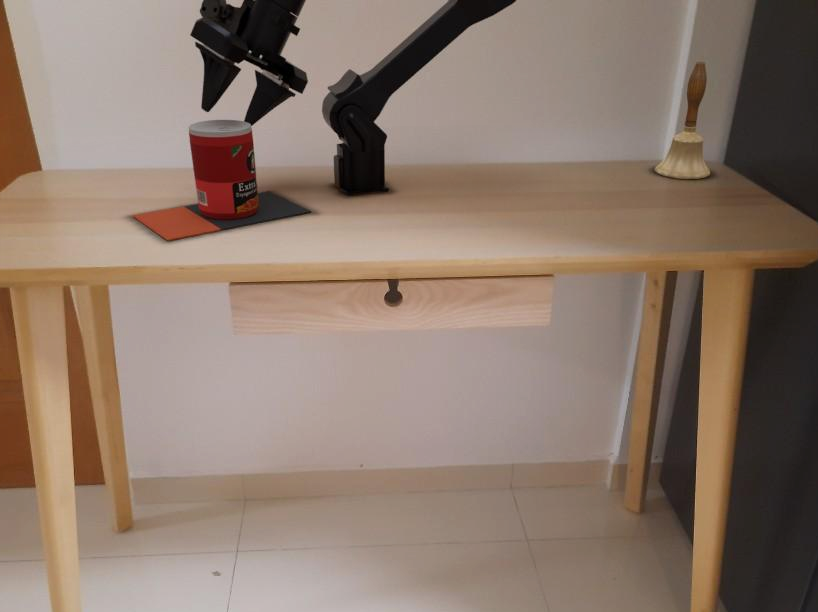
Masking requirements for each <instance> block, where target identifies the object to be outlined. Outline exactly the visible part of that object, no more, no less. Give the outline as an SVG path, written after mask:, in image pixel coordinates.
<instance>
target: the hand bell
mask: <svg viewBox="0 0 818 612" xmlns="http://www.w3.org/2000/svg"><path fill="white" fill-rule="evenodd" d="M706 69H707V68H706V62H704V61H696V62H695V64H694V68H693V69H692V71H691V73H690V76H689V79H688V82H687V89H686V100H687V101H686V102H687V109H686V110H687V111H686V116H685V121H684V127H683V131H682V132H680V133H677V134H676V135H674V136H673V137H672V140H671V144H670V147H669V149H668V152H667V154H666V156H665V157H664V159H663V160H662V161H661V162H659V163H658V164H657V165H656V166H655V167H654V172H655V173H656V174H658V175H660V176H663V177H667V178H671V179H678V180H699V179H700V180H701V179H705V178H708V177H710V175H711V172H710V169H709V167H708V166H707V164H706V163H705V160H704V138H703V137H702V136H701V135H699V134H698V133H697V120H698V114H699V108H700V105H701V103H702V101H703V98H704V95H705V93H706V88H707V84H708V83H707V79H708V77H707V76H708V75H707V70H706Z"/></svg>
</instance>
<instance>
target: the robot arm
mask: <svg viewBox="0 0 818 612" xmlns="http://www.w3.org/2000/svg"><path fill="white" fill-rule="evenodd" d="M306 1H307V0H243V1H242V2H241V3H242V4H241V5H240V7H238V6H233V5H231V4H230V3H227V0H202V2H201V6H200V9H199V13H200V15H201V17H200V18H198V19H196V20H195V22H194V25H193V27H192V29H191V31H190V34H189V35H190V36H191V37H192V38H193V39H195V40H196V41H194V45H195V47H196V48H197V49H198V50H199V52H200V55H201V58H202V61H203V81H202V93H201V105H200V108H201V110H203V111H204V112H206V113H210V112H211V110H213V108H214V107H215V106H216V105H217V103H218V102H219V101H220V100H221V98H222V96H223V95H224V94H225V93H226V91H227V90H228V88H229V87H230V86H231V85H232V83H233V82H234V81H235V79H236V78H237V77H238V75H240V72H241V71H242V68H240V67H239V66H237V65H236V64H238V65H239V64H240V63H242V62H244V61H245V62H247V63H250V64H251V65H253V66H255V67H257V68H259V69H260V70H261V71H262V72H261V71H259V70H257V69H255V70H254V75H255V82H256V86H255V89H254V92H253V94H252V97H251V100H250V102H249V105H248V107H247V110H246V113H245V117H244V122H247V123H249V124H251V127H253V126H254V125H255V124H256V123H258V122H259V121H260V120H261V119H263V118H264V117H265V116H267V115H268V114H269V113H270V112H271V111H273V110H274V109H275V108H277V107H278V106H281V104H283V103H284V102H286V101H287V100H289V99H290V98H291V97H292V98H295V97H296V96H297V94H296V93H299V94H301V95H303V94H304V91H305V89H306V87H307V85H308V83H309V80H308V75H307V72H306V71H304V70H303V69H301V68H300V67H298V66H296V65H295V64H293V63H292V62H290V61H288V60H287V58H286V57H284V56H283V55H282V53H283V51H284V49H285V47H286V45H287V43H288V39H289V38H290V36H291V34H292V35H294V36H295V37H298V35H299V33H300V30H301V28H300V27H299V26H297V25H296V23H297V21H298V19H299V16H300V14H301V12H302V10H303V7H304V5H305V3H306ZM516 2H517V0H447V2H445V4H443V5H442V6H441V7H440V8H439V9H438V10H436V11H435V12H434V13H433V14H432V15H431V16H430V17H428V18H427V19H426V20H425V21H424V22H423V23H422V24H421V25H420V26H419V27H417V28H416V29H415V30H414V31H413V32H411V34H409V35H408V36H407V37H406V38H405V39H404V40H403V41H402V42H400V43H399V44H398V45H397V46H396V47H395V48H394V49H392V50H391V51H390V52H389V53H388V54H387V55H386V56H384V58H383V59H381V60H380V61H379V62H378V63H376V64H375V66H373V67H372V68H371V69H370V70H367V71H365V72H364V73H361V74H359V73H357V72H356V71H354V70H352V69H351V68H348V70H347V71H346V72H344V74H343V75H342V76H341V78H340V79H339V80H338V81H337V82H336V83H334V84H332V85H328V86H327V90H328V91H329V92H328V93H327V94H326V95H325V97H324V98H323V100H322V104H321V105H322V107H321V112H322V114H321V115H322V118H323V120H324V122H325V123H326V124H327V125H328V127H329V128H330V129H331V130H332V131H333V132H334V133H335V134H336V135H337V137H338V139H339V140H340V141H341V143H336V154H335V155H334V156H333V174H334V175H333V178H334V179H333V180H334V186H336V187H337V188H338V189H339V190H340V191H342V192H343V193H344V194H345V195H348V196H351V195H362V194H370V193H381V192H388V191H390V187H389V186H388V185H387V184H386V173H385V172H386V163H385V162H386V161H385V160H386V159H385V158H386V156H385V155H386V154H385V153H386V152H385V151H386V150H385V147H386V143H387V139H388V134H387V133H386V132H385V131H384V130H383V129H382V128H381V127H380V126H379V125H378V124H376V120H377V119H378V118H379V116H380V115H381V114H382V112H383V110H384V108H385V107H386V104H387V103H388V101H389V99H390V98H391V97H392V96H393V94H394V93H396V92H397V91H398V90H399V89H400V88H401V87H402V86H404V85H405V84H406V83H407V82H408V81H409V80H411V79H412V78H413V77H414V76H415V75H416V74H417V73H418V72H419V71H420V70H422V69H423V68H424V67H426V66H427V65H428V64H429V63H430V62H431V61H432V60H434V58H435V57H437V56H438V55H439V54H440V53H441V52H443V50H445V49H446V48H447V47H448V46H449V45H450V44H452V43H453V42H454V41H455V40H456V39H457V38H458V37H459V36H461V35H462V34H463V33H464V32H465V31H467V29H469V28H470V27H471V26H473V25H476V24H478V23H480V22H482V21H484V20H486V19H488V18H491V17H493V16H495V15H497V14H499V13H500V12H502V11H503V10H505V9H507V8H508V7H510V6H512V5H513V4H515V3H516ZM290 89H291V90H290ZM293 91H295V92H296V93H295V92H293Z"/></svg>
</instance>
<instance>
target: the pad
mask: <svg viewBox="0 0 818 612" xmlns="http://www.w3.org/2000/svg"><path fill="white" fill-rule="evenodd" d="M184 206H185V205H184ZM184 206H178V207H172V208H167V209H161V210H156V211H149V212H143V213H138V214H133V215H132V217H133V218H134V219H135V220H137V221H138V222H140V224H142V225H144V226H145V227H147V228H148V229H150V230H151V231H152V232H153V233H155V234H157V235H158V236H159V237H161V238H162V239H164V240H165V241H166V242H171V241H175V240H180V239H185V238H186V239H187V238H191V237H196V236H201V235H205V234H210V233H211V234H212V233H215V232H220V231H222V230H221V229H220V228H218V227H217V226H215V225H213V224H212V223H210V222H208V221H207V220H205V219H203V218H202V217H200V216H198V215H197V214H195V213H194V212H192V211H190V210H189V209H187V208H185V207H184Z"/></svg>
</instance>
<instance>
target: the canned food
mask: <svg viewBox="0 0 818 612" xmlns="http://www.w3.org/2000/svg"><path fill="white" fill-rule="evenodd" d="M188 136H189V146H190V154H191V161H192V167H193V175H194V182H195V191H196V197H197V204H198V206H199V209H200V211H201V213H202V215H204V216H206V217H208V218H212V219H220V220H231V219H240V218H245V217H249V216H252V215H253V214H255V213H256V212H257V210H258V205H259V202H258V193H259V191H258V180H257V169H256V157H255V156H256V155H255V145H254V135H253V128H252V126H251V124H249V123H247V122H244V121H243V120H237V119H210V120H202V121H198V122H195V123H192V124H190V125H188Z"/></svg>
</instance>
